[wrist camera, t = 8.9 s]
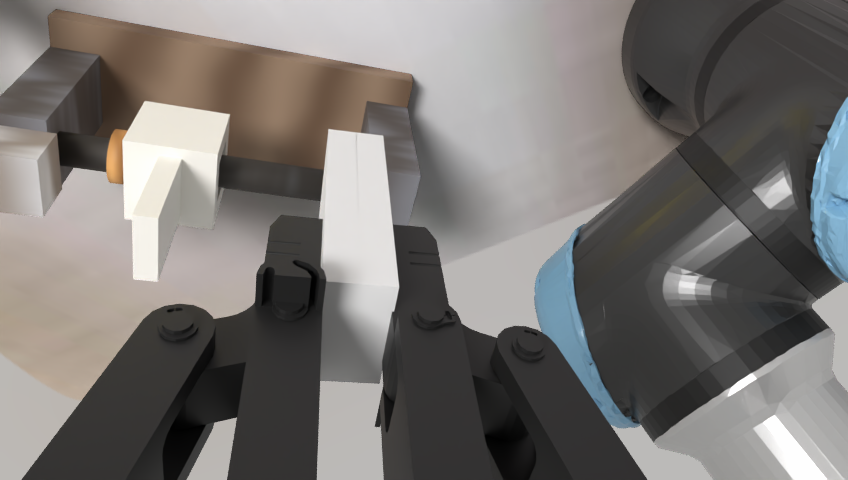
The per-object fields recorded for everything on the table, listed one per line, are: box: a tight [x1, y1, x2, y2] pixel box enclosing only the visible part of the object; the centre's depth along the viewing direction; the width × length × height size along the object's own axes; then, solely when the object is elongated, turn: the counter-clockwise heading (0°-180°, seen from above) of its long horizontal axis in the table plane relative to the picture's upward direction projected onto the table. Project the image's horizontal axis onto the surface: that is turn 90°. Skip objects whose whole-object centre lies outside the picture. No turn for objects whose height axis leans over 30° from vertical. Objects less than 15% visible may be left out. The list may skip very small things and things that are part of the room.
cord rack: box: [0, 9, 421, 226], centre depth 43 cm, size 24×9×14 cm, turn 77°
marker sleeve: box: [122, 101, 230, 282], centre depth 38 cm, size 5×5×11 cm
